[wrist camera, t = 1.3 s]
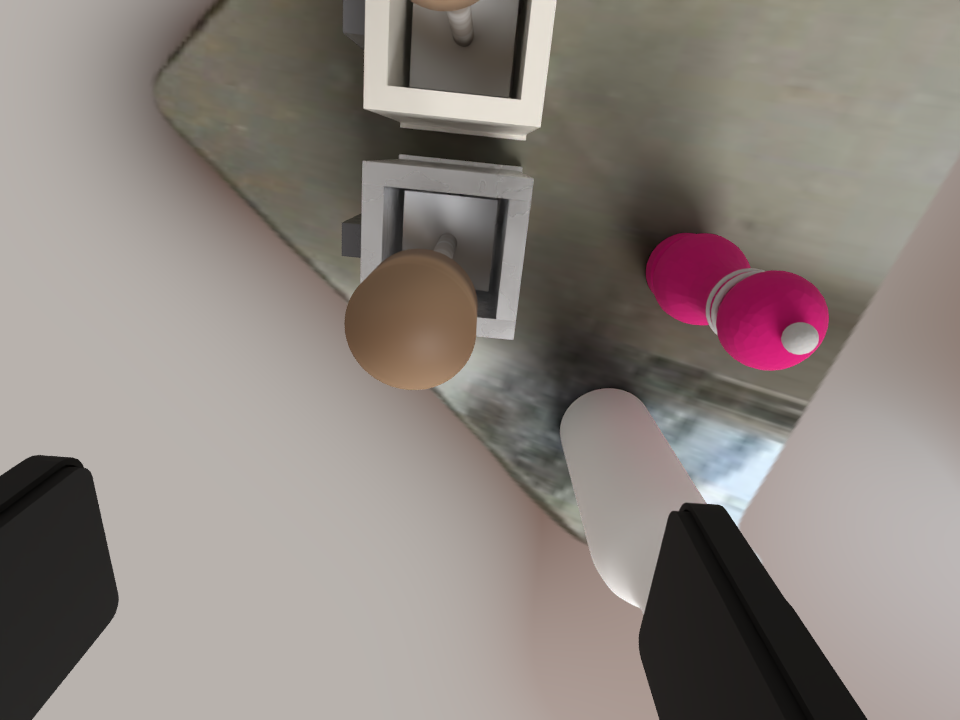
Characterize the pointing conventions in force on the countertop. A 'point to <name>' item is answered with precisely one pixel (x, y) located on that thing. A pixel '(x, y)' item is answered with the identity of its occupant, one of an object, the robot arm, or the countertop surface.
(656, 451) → the alcohol
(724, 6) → the countertop surface
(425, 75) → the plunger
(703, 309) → the pepper mill
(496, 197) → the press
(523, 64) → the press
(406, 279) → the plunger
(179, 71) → the countertop surface
